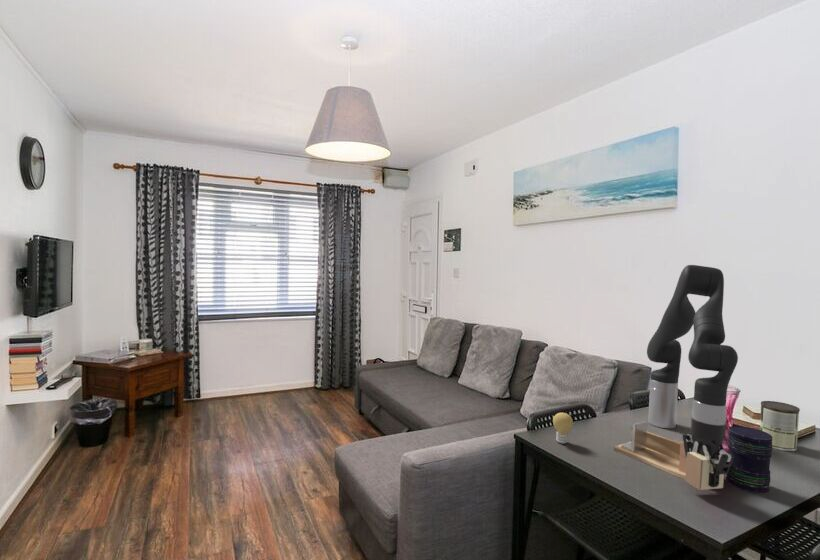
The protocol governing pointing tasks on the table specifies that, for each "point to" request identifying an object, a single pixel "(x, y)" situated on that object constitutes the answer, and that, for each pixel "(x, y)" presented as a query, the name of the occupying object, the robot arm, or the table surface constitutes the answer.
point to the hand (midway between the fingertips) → (704, 480)
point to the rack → (660, 454)
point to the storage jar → (749, 459)
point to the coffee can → (780, 424)
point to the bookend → (637, 437)
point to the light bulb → (562, 426)
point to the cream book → (700, 472)
